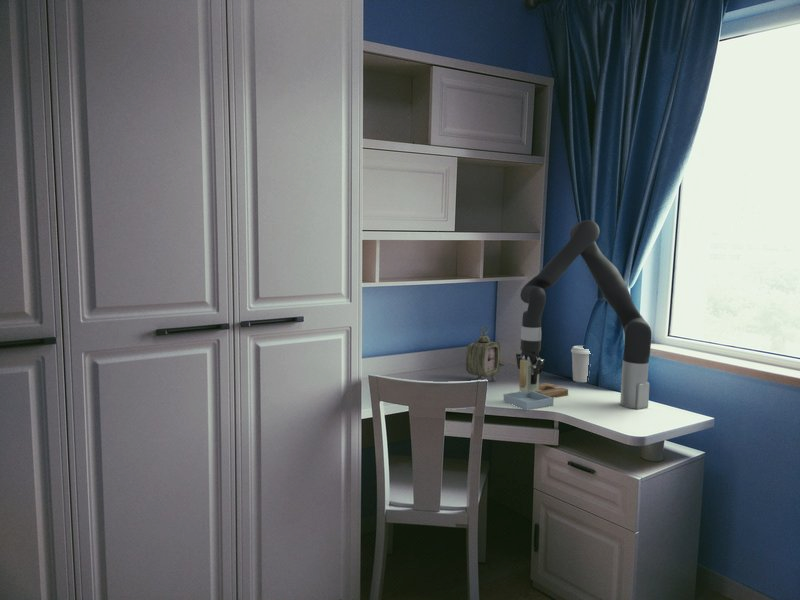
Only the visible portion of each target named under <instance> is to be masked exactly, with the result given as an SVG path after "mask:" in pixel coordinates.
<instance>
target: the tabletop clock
mask: <svg viewBox="0 0 800 600" xmlns="http://www.w3.org/2000/svg"><path fill="white" fill-rule="evenodd" d="M483 328H487V330H486V331H483V332H482V330H483ZM489 329H490V328H489V326H488V325H487V324H484V325H482V326H481V327H480V329H479V334H480V335H481V336H479V337H478V338H477V341H476V340H475V341H473V342H471V343H469V344H468V345H467V347H466V353H465V370H466V372H467V373H468V374H470V375H473V376H477V377H476V379H475V381H476V380H478V379H481V380H482V377H485V378H488V377H491V381H492V380H495V381H496V377H495V376H494V375H496V374H497V373H498V372H499V369H500V364H501V344H500V343H499V342H497V341H491V340H490V337H489V336H488V333H489Z"/></svg>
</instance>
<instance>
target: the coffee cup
mask: <svg viewBox="0 0 800 600" xmlns="http://www.w3.org/2000/svg"><path fill="white" fill-rule="evenodd" d="M583 346H584V345H574V346H572V347H571V349H570V352H571V360H572V364H571V365H572V380H573V381H574V382H575V383H587V376H588V365H589V354H591V353H590V351H589V349H584V348H583Z"/></svg>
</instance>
